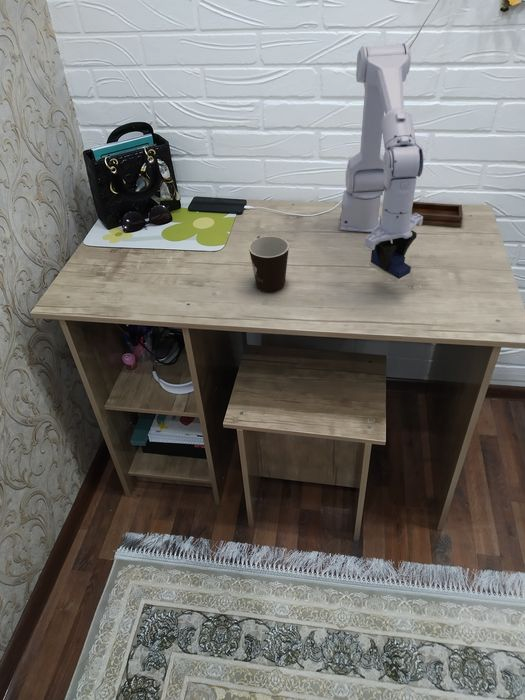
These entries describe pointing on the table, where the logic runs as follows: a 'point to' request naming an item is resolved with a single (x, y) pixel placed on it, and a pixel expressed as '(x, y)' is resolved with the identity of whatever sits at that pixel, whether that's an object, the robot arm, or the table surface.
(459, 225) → the wooden serving tray
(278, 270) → the coffee mug
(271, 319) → the table surface
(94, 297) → the table surface
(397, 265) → the dark blue stepped block
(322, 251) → the table surface
